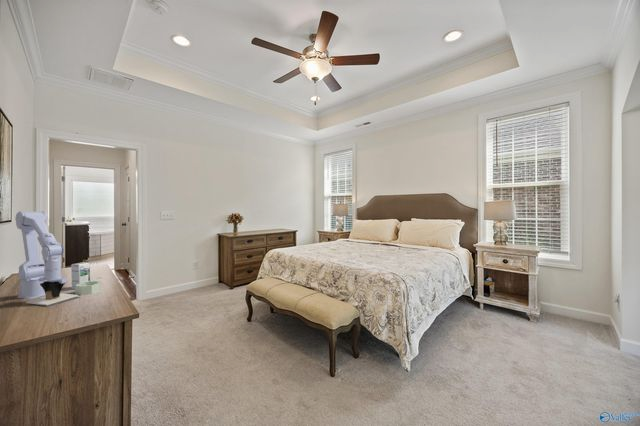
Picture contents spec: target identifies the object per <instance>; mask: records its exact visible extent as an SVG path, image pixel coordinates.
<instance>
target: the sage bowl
mask: <svg viewBox="0 0 640 426" xmlns="http://www.w3.org/2000/svg"><path fill="white" fill-rule="evenodd" d="M101 283H102V282H101V280H100V281H99V280H90V282H83V283H79V284H77V285H76V286H75V289H74V295H78V296H87V295H88V296H89V295H94V294H96V293H100V291H101V288H102V287H101Z"/></svg>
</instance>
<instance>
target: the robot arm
mask: <svg viewBox="0 0 640 426" xmlns="http://www.w3.org/2000/svg"><path fill="white" fill-rule="evenodd" d="M14 218H15V219H14V220H15V225H16V227H17V229H19V230H21V235H22V241H23V242H22V243H23V247H24V255H25V261H24V262H23V263H21V265H19V266H18V273H17V274H18V279H19V280H20V283H19V284H18V296H16V298H18V299H28V300H33V299H37V298H41V297H45V296H46V292H48V291H52V296H53V298H55V297H58V296H59V295H60V293H61V291H62V289H63V287H64V286H65V284H66V283H67V281H68V280H67V278H65V277H64V276H62V256H63V254H64V253H65V252H64V251H65V248H64V246H63V244H62V243H60V242H58V241H57V239H56V238H55V235H54V234H53V233H52V232H49V230H48V226H47V223H46V222H47V220H48V214H47V212H45V211H41V210H40V211H20V210H19V211H18V212H16V215H15V217H14ZM38 242H39V243H38ZM39 245H40V247H41V255H42V259H41V256H40V250H39V249H40V248H39Z"/></svg>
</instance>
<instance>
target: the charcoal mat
mask: <svg viewBox="0 0 640 426" xmlns="http://www.w3.org/2000/svg"><path fill="white" fill-rule="evenodd" d="M80 298H81V296H77V297H74V298H70V299H67V300H64V301H60V302H57V303H53V304H50V305H39V304H30V303H26V302H25V303H23V305H24V306H34V307H43V308H50V307H53V306H57V305H61V304H63V303H66V302H69V301H73V300H77V299H80Z"/></svg>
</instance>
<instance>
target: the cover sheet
mask: <svg viewBox="0 0 640 426" xmlns="http://www.w3.org/2000/svg"><path fill="white" fill-rule="evenodd" d="M74 297H79V295H75V294H71V293H61V292H60V295H59V296H58V297H55V298H53V296H52V291H48V292H46V295H44V296H40V297H37V298H33V299H29V300H27V301H25V303H30V304H39V305H50V304H53V303H57V302H60V301H64V300H67V299H70V298H74Z"/></svg>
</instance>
